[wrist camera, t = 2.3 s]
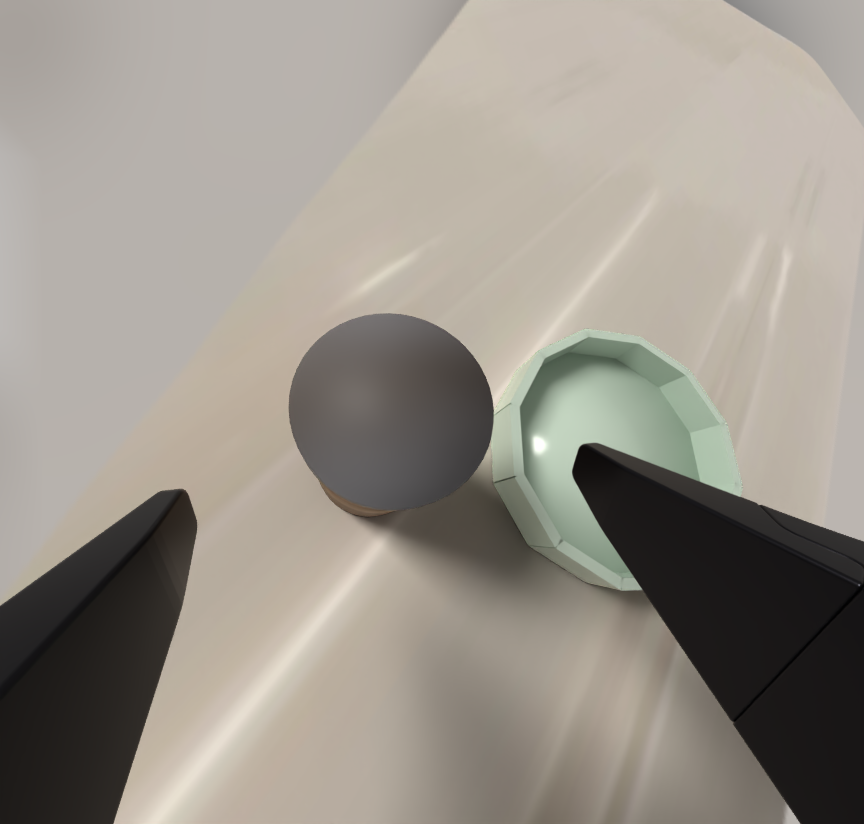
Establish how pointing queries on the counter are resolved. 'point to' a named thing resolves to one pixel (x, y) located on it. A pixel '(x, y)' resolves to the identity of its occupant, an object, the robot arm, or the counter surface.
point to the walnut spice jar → (390, 413)
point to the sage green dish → (599, 440)
